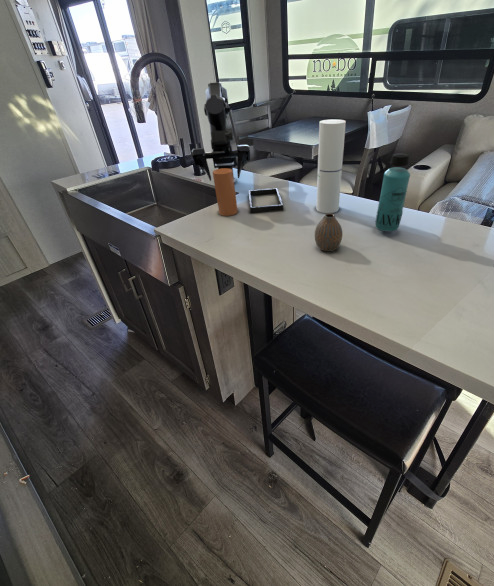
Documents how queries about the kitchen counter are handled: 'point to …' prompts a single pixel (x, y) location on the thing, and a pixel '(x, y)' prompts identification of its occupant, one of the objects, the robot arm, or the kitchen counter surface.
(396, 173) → the beverage bottle
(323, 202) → the cylindrical container
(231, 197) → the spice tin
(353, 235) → the kitchen counter surface
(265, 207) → the black rectangular frame
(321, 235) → the vase
